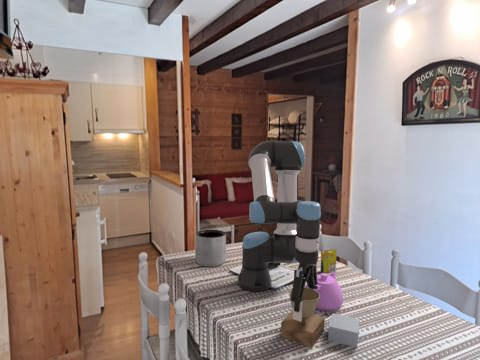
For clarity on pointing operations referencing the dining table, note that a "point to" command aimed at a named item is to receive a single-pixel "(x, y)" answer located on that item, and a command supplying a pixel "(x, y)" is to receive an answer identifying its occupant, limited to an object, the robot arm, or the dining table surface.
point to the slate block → (344, 330)
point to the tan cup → (308, 301)
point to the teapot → (328, 292)
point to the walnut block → (303, 329)
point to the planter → (210, 248)
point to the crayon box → (328, 261)
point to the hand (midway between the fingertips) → (303, 313)
